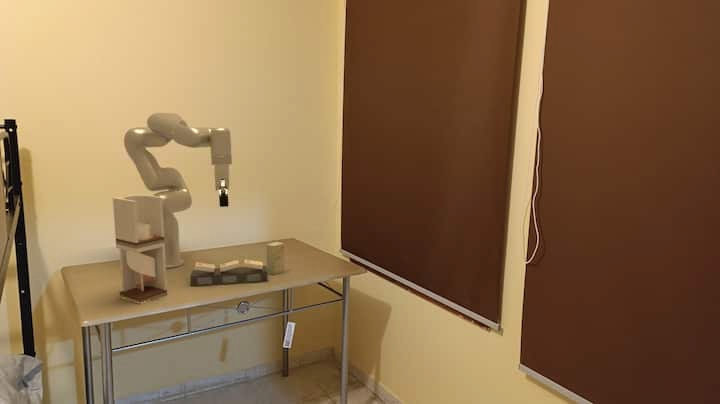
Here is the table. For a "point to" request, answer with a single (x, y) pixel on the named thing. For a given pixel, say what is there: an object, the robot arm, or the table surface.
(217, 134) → the robot arm
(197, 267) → the rocker
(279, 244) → the skincare box
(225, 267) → the cream flat rectangular block
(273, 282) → the table surface
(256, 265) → the rocker
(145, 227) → the display case
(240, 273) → the power strip
